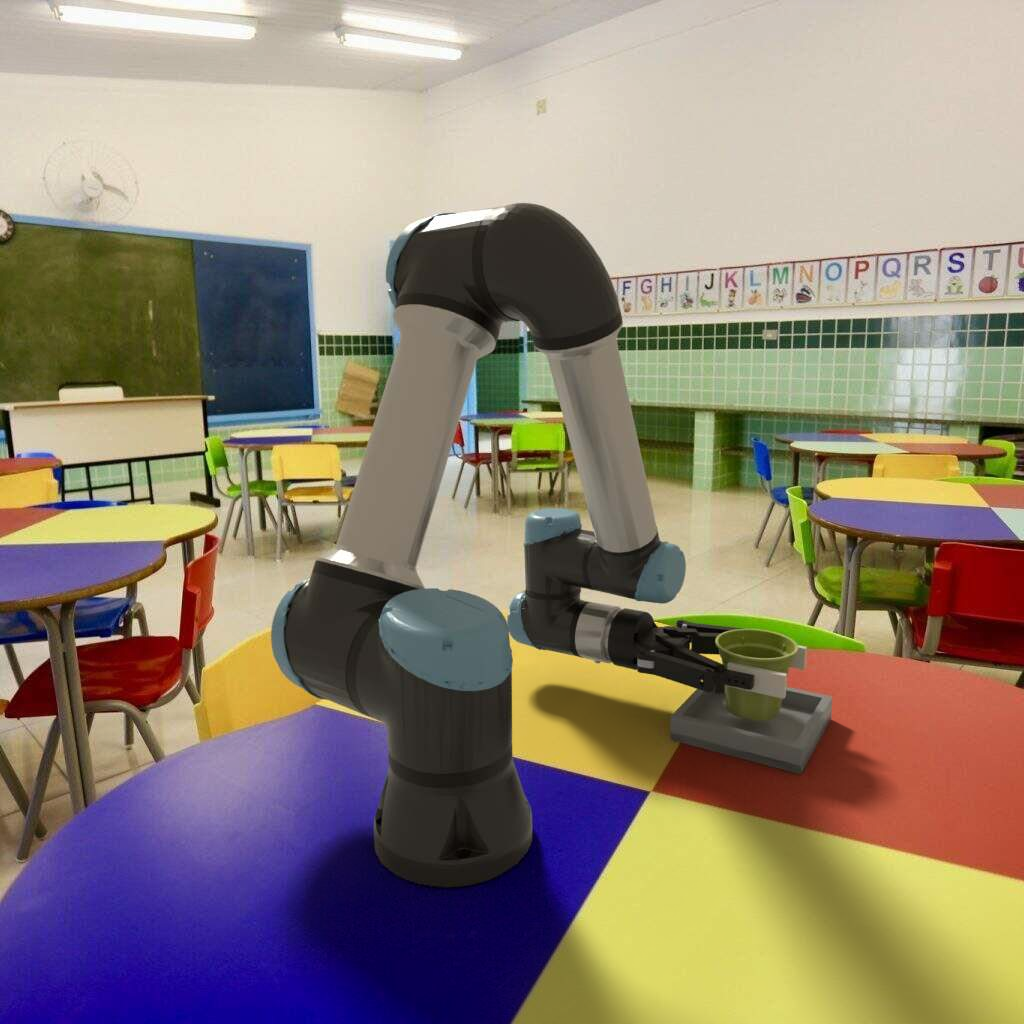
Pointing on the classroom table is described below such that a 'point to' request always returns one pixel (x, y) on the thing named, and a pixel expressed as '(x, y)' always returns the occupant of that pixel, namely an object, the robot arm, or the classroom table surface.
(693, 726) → the tray
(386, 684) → the robot arm
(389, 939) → the classroom table surface
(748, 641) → the plant pot
